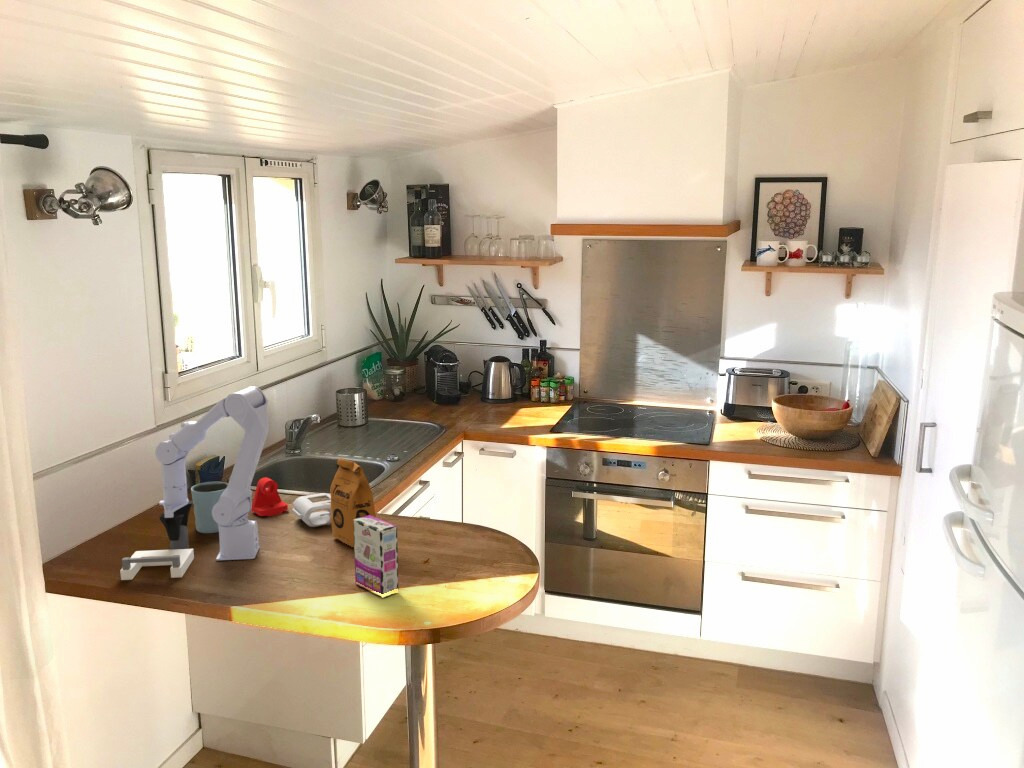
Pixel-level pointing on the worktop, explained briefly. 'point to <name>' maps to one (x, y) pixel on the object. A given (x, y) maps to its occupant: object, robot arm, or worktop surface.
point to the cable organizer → (306, 507)
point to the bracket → (267, 499)
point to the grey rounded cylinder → (181, 539)
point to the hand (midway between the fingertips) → (178, 534)
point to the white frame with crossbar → (157, 561)
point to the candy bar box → (376, 554)
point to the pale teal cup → (206, 504)
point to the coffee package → (349, 500)
